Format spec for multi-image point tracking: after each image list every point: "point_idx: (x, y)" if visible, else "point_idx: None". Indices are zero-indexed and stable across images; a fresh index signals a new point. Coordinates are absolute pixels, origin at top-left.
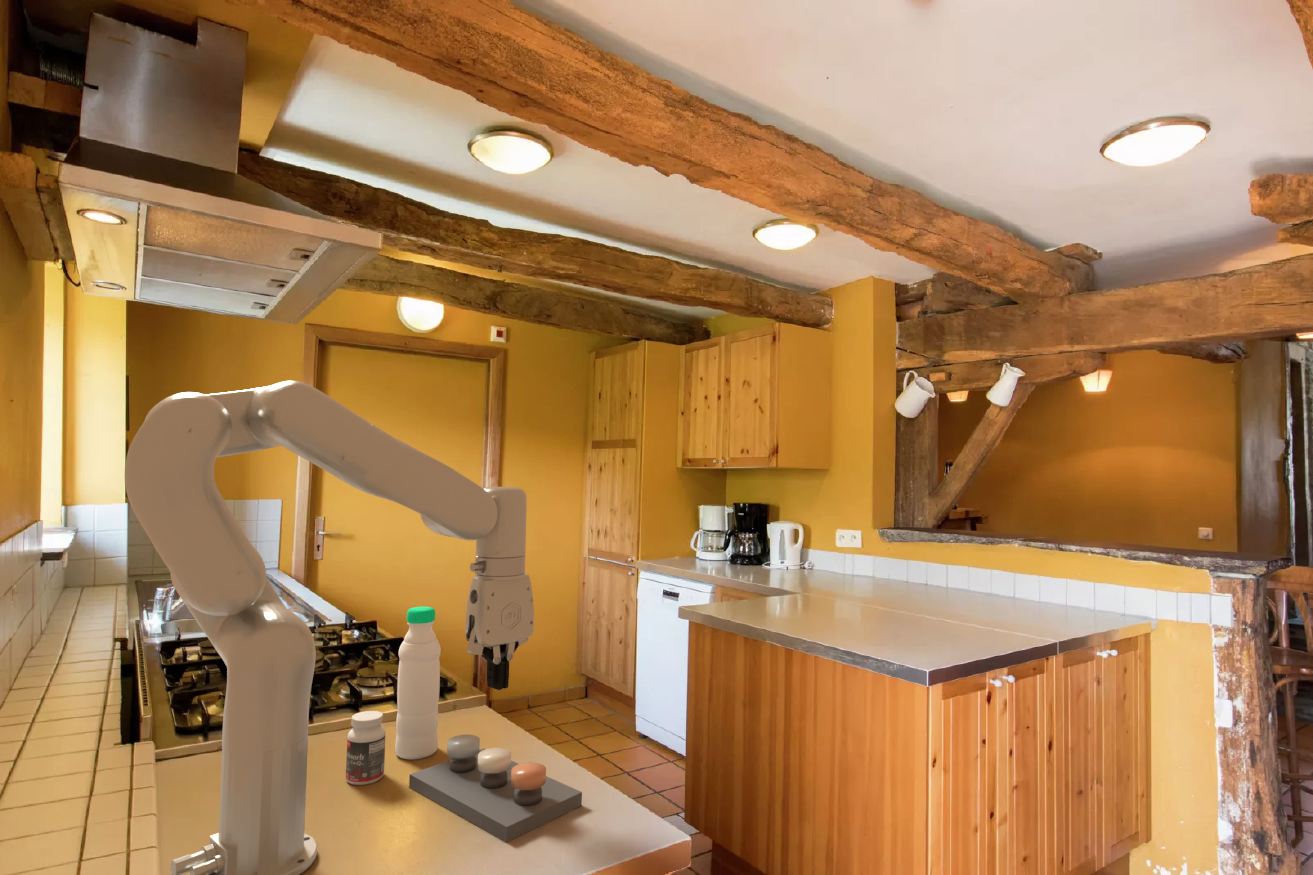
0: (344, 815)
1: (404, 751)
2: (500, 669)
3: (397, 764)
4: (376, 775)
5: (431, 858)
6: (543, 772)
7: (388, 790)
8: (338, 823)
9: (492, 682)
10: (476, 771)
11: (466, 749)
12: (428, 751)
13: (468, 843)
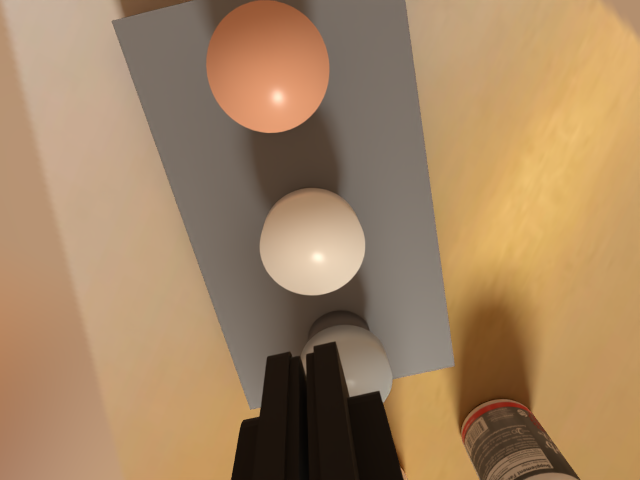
0: (598, 300)
1: (404, 477)
2: (349, 448)
3: (417, 452)
4: (493, 409)
5: (562, 5)
6: (232, 12)
7: (483, 356)
8: (622, 274)
9: (380, 398)
10: (319, 304)
11: (356, 338)
12: None
13: (463, 20)
